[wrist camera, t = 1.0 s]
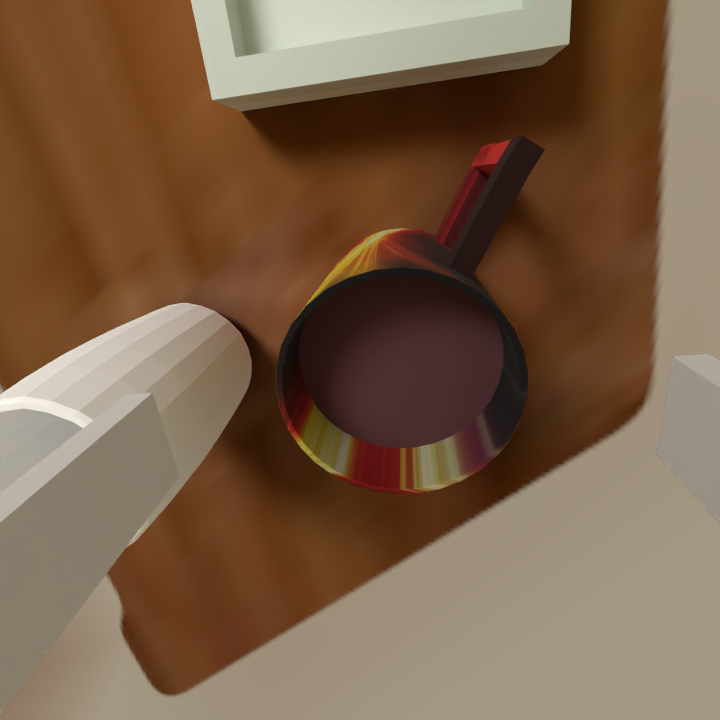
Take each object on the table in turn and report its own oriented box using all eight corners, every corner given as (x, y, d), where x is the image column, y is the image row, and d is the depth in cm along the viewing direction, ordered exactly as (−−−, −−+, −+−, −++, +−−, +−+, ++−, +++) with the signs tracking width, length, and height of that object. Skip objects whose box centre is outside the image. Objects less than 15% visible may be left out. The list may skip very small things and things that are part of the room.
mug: (493, 148, 24) (569, 125, 13) (471, 377, 29) (512, 499, 18) (318, 151, 25) (251, 131, 14) (327, 373, 30) (284, 488, 19)
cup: (267, 409, 32) (173, 572, 19) (156, 406, 32) (-10, 561, 19) (254, 293, 28) (129, 393, 15) (131, 292, 29) (-89, 388, 16)
